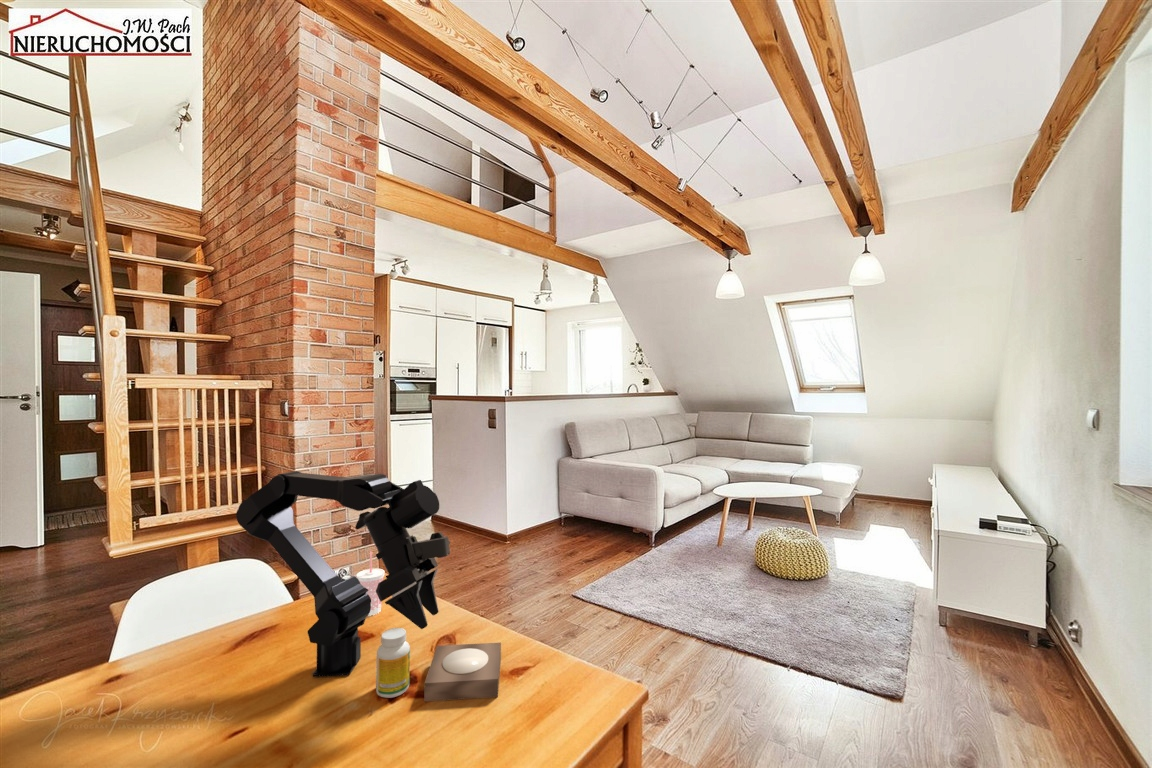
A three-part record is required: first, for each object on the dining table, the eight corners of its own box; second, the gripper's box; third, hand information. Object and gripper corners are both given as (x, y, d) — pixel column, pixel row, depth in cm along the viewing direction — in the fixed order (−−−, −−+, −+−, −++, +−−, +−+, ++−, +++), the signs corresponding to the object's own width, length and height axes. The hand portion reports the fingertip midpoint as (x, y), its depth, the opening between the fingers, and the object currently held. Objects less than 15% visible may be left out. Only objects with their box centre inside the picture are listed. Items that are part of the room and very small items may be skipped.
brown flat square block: (424, 701, 80) (424, 682, 80) (436, 661, 92) (437, 644, 92) (497, 696, 82) (497, 677, 82) (500, 658, 94) (501, 641, 94)
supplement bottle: (372, 687, 84) (372, 631, 84) (402, 676, 88) (403, 622, 88) (382, 703, 80) (382, 644, 80) (414, 690, 83) (414, 634, 84)
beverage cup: (370, 604, 117) (371, 545, 117) (390, 609, 115) (390, 549, 115) (349, 615, 112) (350, 553, 112) (369, 620, 109) (370, 557, 109)
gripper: (421, 519, 80) (464, 607, 78) (443, 514, 98) (478, 586, 96) (357, 554, 78) (399, 646, 76) (391, 543, 96) (426, 616, 94)
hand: (430, 620), depth 85 cm, fingers open, 9 cm apart
